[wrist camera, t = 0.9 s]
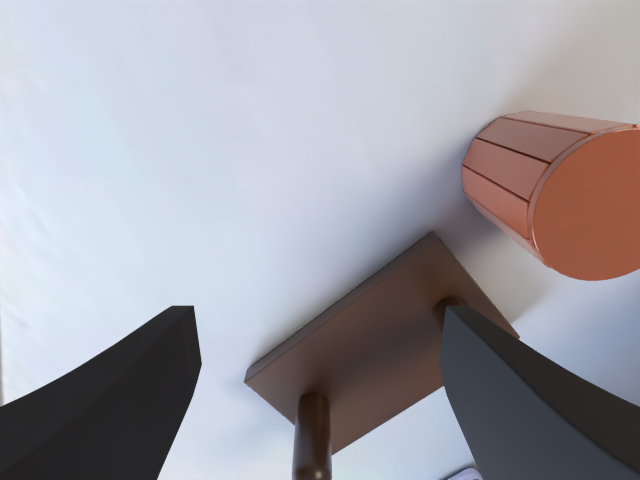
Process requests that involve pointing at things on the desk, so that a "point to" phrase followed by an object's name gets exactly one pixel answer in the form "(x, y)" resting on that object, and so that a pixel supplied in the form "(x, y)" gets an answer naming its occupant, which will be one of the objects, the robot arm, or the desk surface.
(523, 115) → the cup
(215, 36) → the desk surface
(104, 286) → the desk surface
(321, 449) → the rack
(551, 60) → the desk surface
